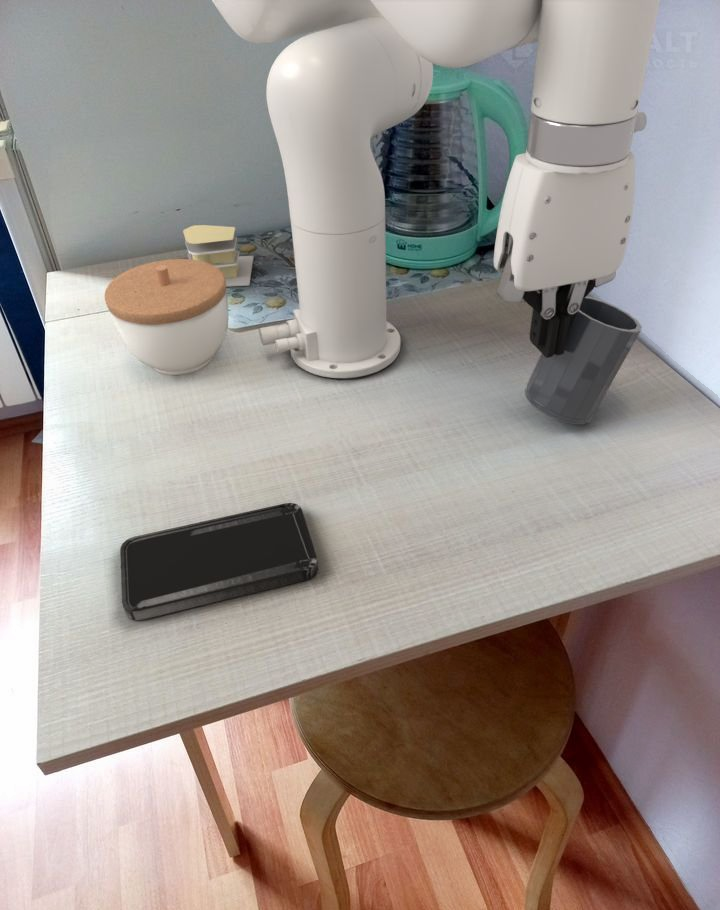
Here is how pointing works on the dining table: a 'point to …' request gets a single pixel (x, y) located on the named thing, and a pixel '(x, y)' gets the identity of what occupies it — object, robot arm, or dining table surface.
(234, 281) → the stacked layers on plate
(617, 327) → the cup
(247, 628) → the dining table surface
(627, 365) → the dining table surface
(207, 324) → the lidded bowl
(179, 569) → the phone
